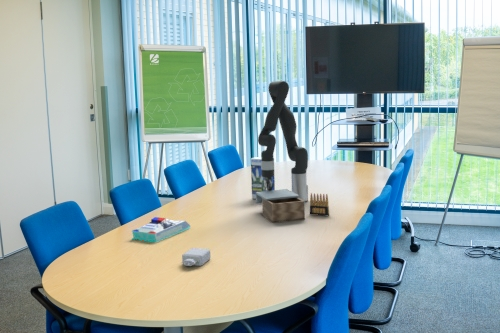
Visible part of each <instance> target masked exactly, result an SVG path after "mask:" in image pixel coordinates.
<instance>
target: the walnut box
mask: <svg viewBox="0 0 500 333" xmlns="http://www.w3.org/2000/svg"><path fill="white" fill-rule="evenodd" d="M261 203H262V204H261V205H262V208H261V209H262V210H261V211H262V216H263V217H265V218H266V219H267V220H268V221H269V222H271V223H273V224H275V223H283V222H292V221H301V220H306V211H305V209H306V208H305V206H306V205H305V201H303V200H302V199H300V198H298V197H296V198H286V199H276V200H265V199H263V198H262V202H261Z"/></svg>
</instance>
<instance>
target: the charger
mask: <svg viewBox="0 0 500 333" xmlns="http://www.w3.org/2000/svg"><path fill="white" fill-rule="evenodd" d="M211 258H212V257H211V250H210V249H209V248H200V247H199V248H197V247H192V248H190V249H188V250H187V251H185V252H184V253H182V256H181V261H182V262H181V264H182V265H184V266H187V267H192V266H195V267H197V266H198V267H200V266H203V265H204V264H206V262H208V261H209V260H211Z"/></svg>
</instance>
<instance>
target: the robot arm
mask: <svg viewBox="0 0 500 333" xmlns="http://www.w3.org/2000/svg"><path fill="white" fill-rule="evenodd" d="M289 91H290V87H289V83H288V82H287V81H286V80H274V81H271V82H270V83H269V84H268V92H269V96H270V98H271V101H272V103H273V104H272V106H271V108H270V109H269V110H268V112H267V114H266V118H265V120H264V125H263V127H262V129H261V131H260V133H259V135H258V138H257V143H258V144H259V146H260V147H266V149H265V150H262V151H261V154H260V157H261V175H262V177H264V181H263V184H264V188H265V190H266V191H272V189H273V185H274V184H273V183H272V178H271V177H274V178H275V158H274V152H275V150H276V149H275V148H276V144H277V140H276V137H275V135H273V134H270V133H272V132H275V131H276V129H277V125H278V122H279V124H280V129H281V130H282V134H283V138H284V142H285V145H286V146H285V147H286V152H287V155H288V158H289V160H290V161H293V162H295V163H294V166H293V167H292V168H291V169H290V172H291V174H290V176H291V177H290V178H291V191H292V192H294V193H296V194H297V195H299V197H298V198H300V199H302V200H303V201H304V202H307V201H309V186H308V183H307V170H308V166H309V165H308V164H309V163H308V161H309V160H308V159H309V155H308V150H307V149H306V148H305V147H302V146H298V143H297V139H296V133H297V127H298V126H297V122H296V118H295V115H294V113H293V111H292V110H291V109H290V108H289V107H288V106H287V105H286V100H287V97H288V95H289ZM273 158H274V159H273ZM273 160H274V161H273Z"/></svg>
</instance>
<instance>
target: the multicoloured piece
mask: <svg viewBox="0 0 500 333" xmlns="http://www.w3.org/2000/svg"><path fill="white" fill-rule="evenodd" d="M189 229H191V225H190V223H188V221H186V220H173V219H170V218H169V219H168V218H166V217H157V216H155V217H153V218H151V220H150V222H148V223H146V224H145V225H141V226H139V227H138V228H135V229H133V230H132V231H131V233H132V238H131V240H135V239H139V240H138V241H142V240H144V241H143V242H150V243H158V242H161V241H163V240H166V239H168V238H170V237H172V236H175V235H177V234H180V233H182V232H184V231H187V230H189Z"/></svg>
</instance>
